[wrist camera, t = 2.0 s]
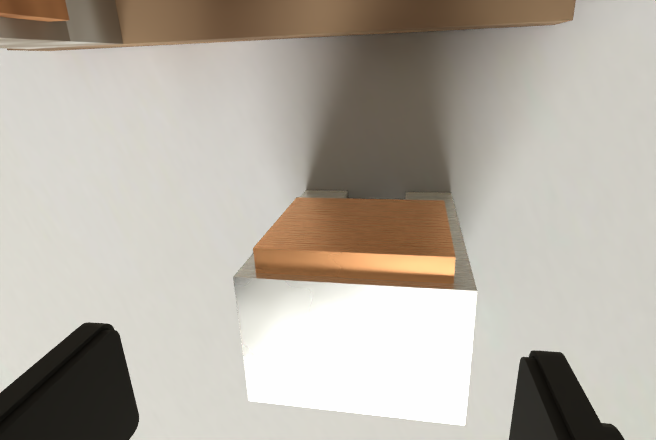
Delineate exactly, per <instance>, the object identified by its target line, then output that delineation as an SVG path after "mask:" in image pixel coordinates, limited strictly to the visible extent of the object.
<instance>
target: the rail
mask: <svg viewBox="0 0 656 440" xmlns="http://www.w3.org/2000/svg"><path fill="white" fill-rule="evenodd" d="M575 1H576V0H0V48H7V50H28V51H56V50H75V49H95V48H114V47H134V46H153V45H173V44H192V43H212V42H231V41H251V40H270V39H289V38H309V37H328V36H348V35H367V34H387V33H406V32H426V31H445V30H464V29H484V28H503V27H523V26H542V25H555V24H559V23H563V22H567V21H571V20H573V15H574V8H575Z"/></svg>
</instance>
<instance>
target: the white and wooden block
mask: <svg viewBox="0 0 656 440" xmlns="http://www.w3.org/2000/svg"><path fill="white" fill-rule="evenodd" d="M233 279H234V287H235V295H236V303H237V311H238V319H239V327H240V335H241V343H242V351H243V359H244V366H245V374H246V382H247V390H248V398H249V401H256V402H265V403H274V404H282V405H291V406H300V407H308V408H317V409H326V410H335V411H343V412H352V413H361V414H370V415H378V416H387V417H396V418H405V419H413V420H422V421H431V422H440V423H448V424H457V425H465V419H466V408H467V397H468V387H469V376H470V365H471V354H472V343H473V332H474V321H475V310H476V299H477V288H476V285H475V281H474V277H473V273H472V269H471V266H470V262H469V258H468V254H467V251H466V247H465V243H464V239H463V235H462V232H461V228H460V224H459V220H458V216H457V213H456V209H455V205H454V201H453V197H452V194H451V193H450V192H406V194H405V200H398V199H349V198H348V191H332V190H306V191H305V192H304V193H303V194H302V195H301V197H297V198H296V199H295V200H294V201H293V202H292V203H291V205H290V206H289V207H288V208H287V209H286V210H285V212H284V213H283V214H282V215H281V216H280V217H279V219H278V220H277V221H276V222H275V223H274V224H273V226H272V227H271V228H270V229H269V230H268V231H267V233H266V234H265V235H264V236H263V237H262V238H261V240H260V241H259V242H258V243H257V244H256V245H255V247H254V248H253V254H252V255H251V256H250V258H249V259H248V260H247V261H246V262H245V264H244V265H243V266H242V267H241V268H240V270H239V271H238V272H237V273H236V274H235V276H234V277H233Z"/></svg>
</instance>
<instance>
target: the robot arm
mask: <svg viewBox="0 0 656 440" xmlns="http://www.w3.org/2000/svg"><path fill="white" fill-rule="evenodd" d="M138 422H139V413H138V409H137V405H136V401H135V397H134V393H133V388H132V384H131V380H130V376H129V372H128V368H127V364H126V360H125V355H124V351H123V347H122V343H121V339H120V335H119V333H118V332H117V331H115V330H114V328H113V326H112V325H110V324H104V323H84V324H82V325H81V326H80V327H78V328H77V329H76V330H75V331H74V332H72V333H71V334H70V335H69V336H68V337H66V338H65V339H64V340H63V341H62V342H61V343H59V344H58V345H57V346H56V347H55V348H53V349H52V350H51V351H50V352H49V353H47V354H46V355H45V356H44V357H43V358H41V359H40V360H39V361H38V362H37V363H35V364H34V365H33V366H32V367H31V368H29V369H28V370H27V371H26V372H25V373H23V374H22V375H21V376H20V377H19V378H17V379H16V380H15V381H14V382H13V383H12V384H10V385H9V386H8V387H7V388H6V389H4V390H3V391H2V392H1V393H0V440H129V439H130V438H131V436H132V435H133V434H134V432H135V430H136V429H137V426H138ZM509 440H624V438H623V436H622V435H621V433H620V432H619V431H618V429H617V428H616V427H615V426H613V425H612V424H606V423H601V422H600V420H599V418H598V416H597V415H596V413H595V411H594V409H593V407H592V405H591V404H590V402H589V400H588V398H587V396H586V394H585V393H584V391H583V389H582V387H581V385H580V384H579V382H578V380H577V378H576V376H575V374H574V373H573V371H572V369H571V367H570V365H569V363H568V362H567V360H566V358H565V356H564V355H563V354H562V353H561V352H548V351H531V353H530V355H529V357H522V358H521V359H520V364H519V371H518V379H517V386H516V393H515V400H514V407H513V414H512V422H511V429H510V436H509Z"/></svg>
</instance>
